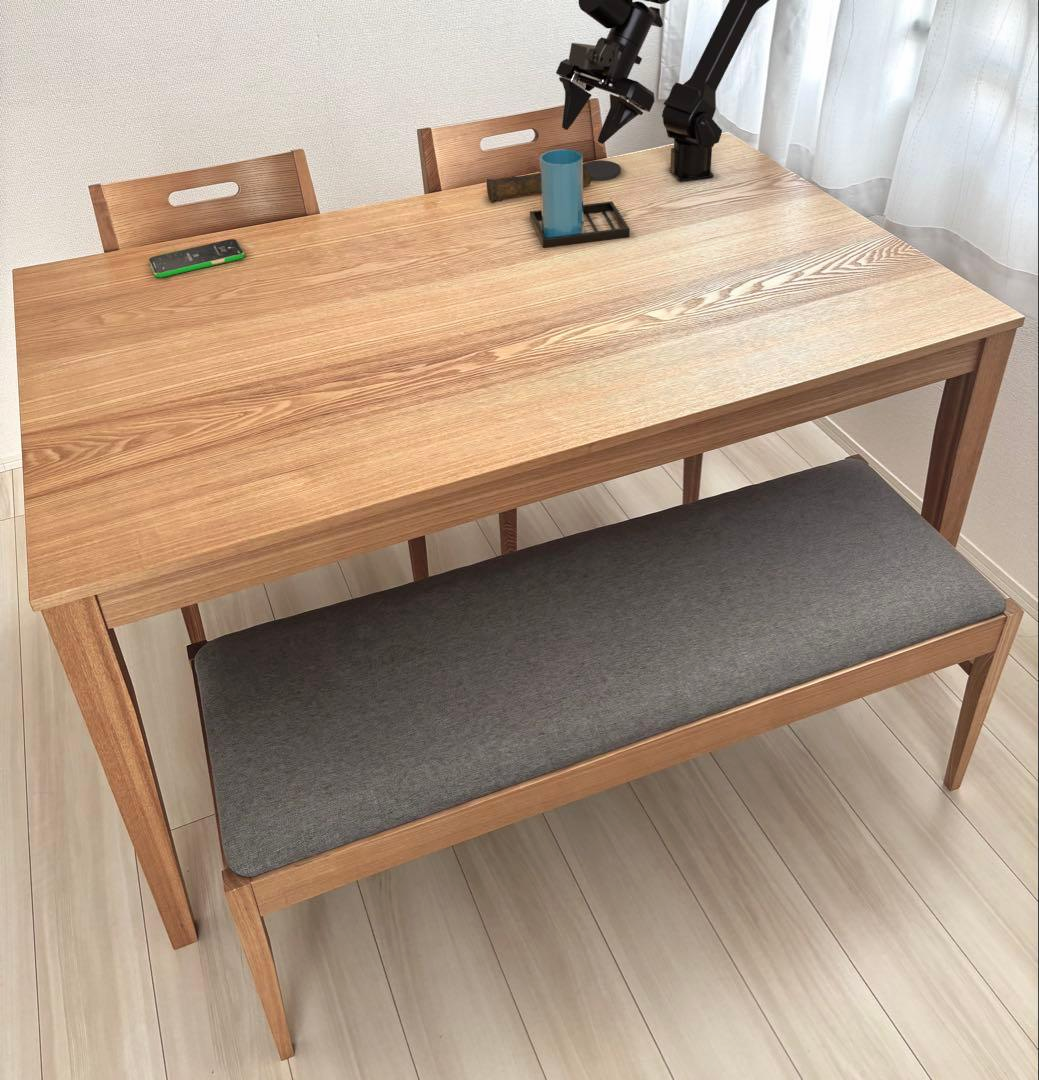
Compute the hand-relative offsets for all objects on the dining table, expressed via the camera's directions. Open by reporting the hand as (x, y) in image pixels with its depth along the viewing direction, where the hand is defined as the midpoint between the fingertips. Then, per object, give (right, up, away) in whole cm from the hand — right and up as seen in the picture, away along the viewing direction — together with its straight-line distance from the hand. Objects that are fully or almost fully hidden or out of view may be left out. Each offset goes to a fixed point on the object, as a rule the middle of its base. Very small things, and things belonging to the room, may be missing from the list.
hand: (581, 135), depth 173 cm
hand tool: (-7, -4, +17) cm, 19 cm away
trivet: (+5, +2, +23) cm, 23 cm away
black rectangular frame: (0, -14, +4) cm, 15 cm away
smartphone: (-64, -20, +3) cm, 67 cm away
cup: (-3, -15, +3) cm, 16 cm away
